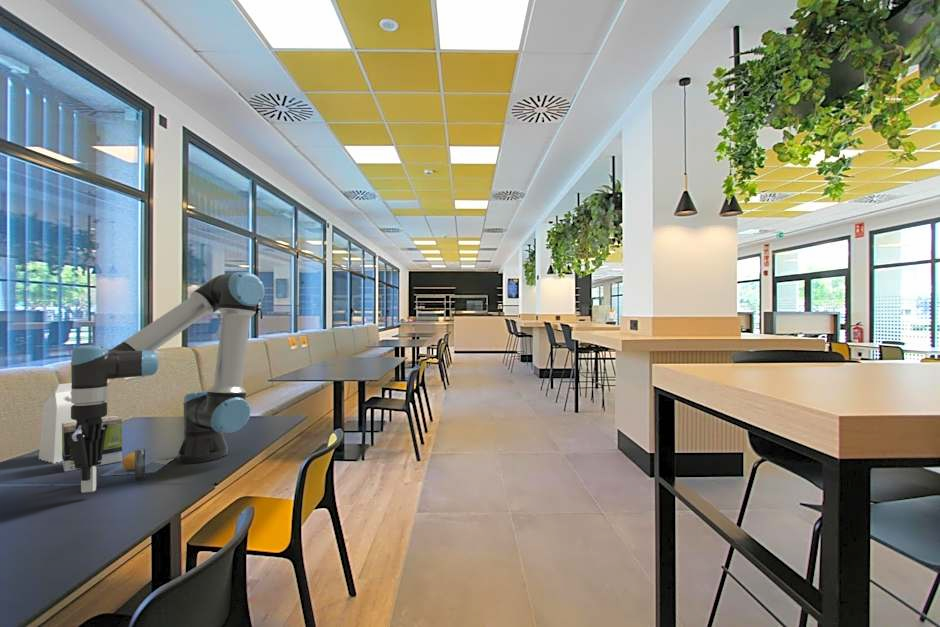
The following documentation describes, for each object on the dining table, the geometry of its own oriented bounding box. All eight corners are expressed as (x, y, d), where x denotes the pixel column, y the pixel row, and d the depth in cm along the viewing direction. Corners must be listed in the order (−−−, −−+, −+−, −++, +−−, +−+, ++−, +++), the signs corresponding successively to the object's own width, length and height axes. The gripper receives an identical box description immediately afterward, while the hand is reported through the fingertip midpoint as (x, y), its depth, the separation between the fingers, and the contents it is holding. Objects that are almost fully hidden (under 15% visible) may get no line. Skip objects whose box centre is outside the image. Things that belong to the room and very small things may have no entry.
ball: (137, 458, 142) (140, 473, 144) (144, 448, 147) (147, 462, 149) (117, 460, 141) (120, 475, 143) (125, 449, 146) (128, 464, 148)
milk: (80, 450, 169) (81, 380, 169) (96, 454, 163) (96, 382, 164) (38, 459, 158) (39, 384, 159) (53, 463, 153) (54, 386, 153)
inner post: (146, 478, 137) (146, 448, 137) (142, 481, 134) (142, 450, 134) (137, 479, 136) (137, 449, 136) (132, 481, 134) (133, 451, 134)
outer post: (99, 481, 134) (99, 451, 134) (94, 484, 132) (94, 453, 132) (89, 482, 134) (89, 451, 134) (84, 485, 131) (84, 454, 131)
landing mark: (175, 458, 157) (175, 458, 157) (154, 472, 142) (154, 472, 142) (126, 462, 154) (126, 461, 154) (100, 476, 139) (100, 475, 139)
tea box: (118, 456, 161) (118, 414, 161) (122, 462, 154) (122, 418, 154) (61, 465, 150) (61, 421, 151) (63, 472, 143) (63, 425, 143)
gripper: (88, 399, 127) (87, 483, 127) (56, 408, 115) (55, 501, 114) (118, 398, 129) (118, 481, 128) (90, 406, 116) (89, 499, 116)
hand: (88, 491), depth 121 cm, fingers closed
